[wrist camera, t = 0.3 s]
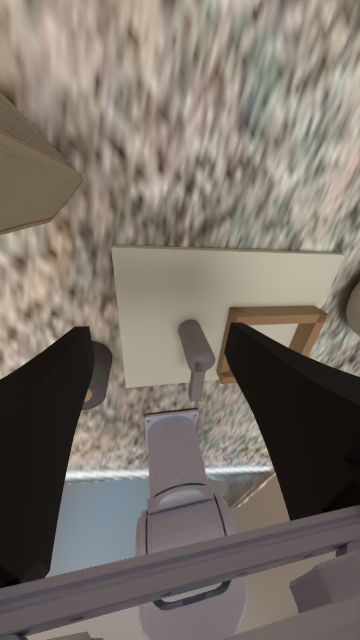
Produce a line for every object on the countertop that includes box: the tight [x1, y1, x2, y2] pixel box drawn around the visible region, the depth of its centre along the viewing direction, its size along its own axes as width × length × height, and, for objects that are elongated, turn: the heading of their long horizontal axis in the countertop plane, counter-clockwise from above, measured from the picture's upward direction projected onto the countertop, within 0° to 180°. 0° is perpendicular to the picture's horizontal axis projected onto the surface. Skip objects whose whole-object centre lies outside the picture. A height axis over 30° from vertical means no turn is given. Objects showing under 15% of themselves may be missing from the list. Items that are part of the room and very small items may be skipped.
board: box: [111, 245, 345, 402], centre depth 20 cm, size 16×22×6 cm
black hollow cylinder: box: [82, 341, 112, 410], centre depth 20 cm, size 4×4×5 cm
